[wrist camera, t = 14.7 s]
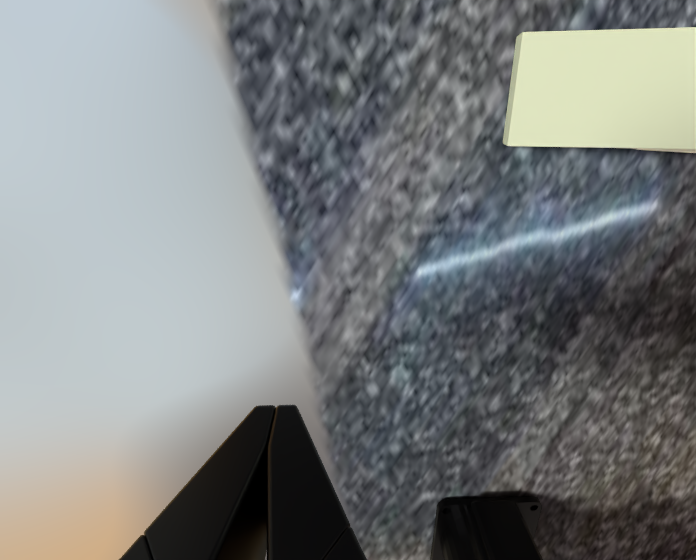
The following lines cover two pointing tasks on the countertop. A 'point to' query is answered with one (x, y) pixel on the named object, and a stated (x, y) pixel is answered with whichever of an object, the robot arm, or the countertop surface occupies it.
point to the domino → (604, 89)
